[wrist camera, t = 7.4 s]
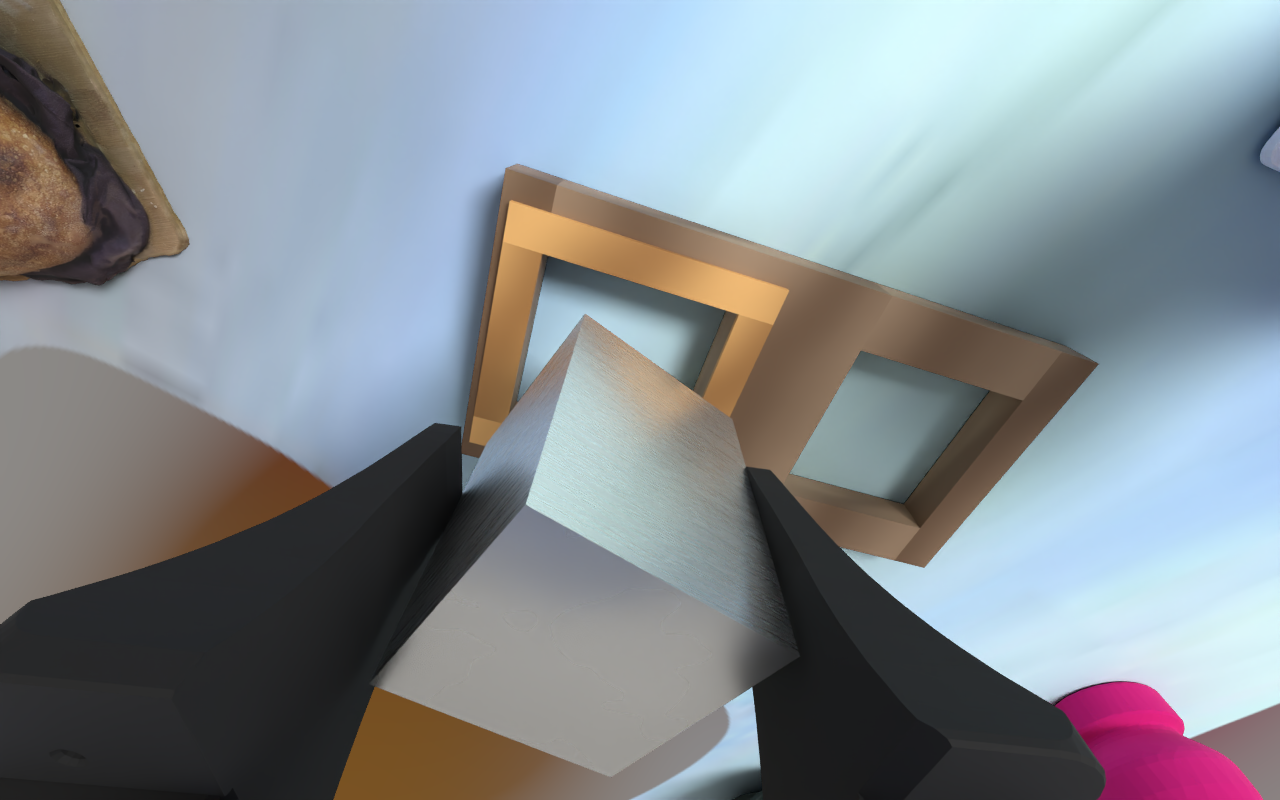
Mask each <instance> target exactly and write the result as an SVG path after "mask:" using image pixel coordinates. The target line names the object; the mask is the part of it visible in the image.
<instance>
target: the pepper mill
mask: <svg viewBox="0 0 1280 800" xmlns="http://www.w3.org/2000/svg"><path fill="white" fill-rule="evenodd" d="M1055 707H1057V708H1059V709H1060V710H1062V711H1063V712H1064V713H1065V714H1066V715H1067V717H1068V718H1069V720H1070V721H1071V723H1072V724H1073V725H1074V727H1075V728H1076V730H1077V731H1078V733H1079V734H1080V735H1081V737H1082V738H1083V740H1084V741H1085V743H1086V744H1087V745H1088V747H1089V748H1090V750H1091V751H1092V753H1093V754H1094V755H1095V757H1096V758H1097V760H1098V761H1099V763H1100V764H1101V765H1102V767H1103V768H1104V770H1105V775H1106V784H1105V787H1104V789H1103V791H1102V794H1101V796H1100V797H1099V798H1098V799H1097V800H1263V799H1262V797H1261V796H1260V794H1259V792H1258V791H1257V790H1256V789H1255V787H1254V786H1253V785H1252V784H1251V783H1250V781H1249V780H1248V779H1247V778H1246V776H1245V775H1244V774H1243V773H1242V771H1241V770H1240V769H1239V768H1238V767H1237V766H1236V765H1235V764H1234V763H1233V762H1232V761H1231V760H1230V759H1228V758H1227V757H1225V756H1224V755H1222V754H1221V753H1219V752H1218V751H1216V750H1214V749H1212V748H1209V747H1207V746H1205V745H1203V744H1201V743H1198V742H1196V741H1194V740H1191V739H1189V738H1187V737H1184V736H1183V733H1184V723H1183V720H1182V719H1181V718H1180V717H1179V716H1178V715H1177V714H1176V712H1175V711H1174V710H1173V709H1172V708H1171V707H1170V706H1169V704H1168V703H1167V702H1166V701H1165V700H1164V699H1163V698H1162V697H1161V695H1160V694H1159V693H1158V692H1157V691H1156V690H1154V689H1152V688H1151V687H1149V686H1147V685H1143V684H1140V683H1134V682H1113V683H1107V684H1101V685H1096V686H1092V687H1089V688H1086V689H1083V690H1080V691H1078V692H1076V693H1073V694H1071V695H1069V696H1067V697H1066V698H1064V699H1063V700H1061V701H1060V702H1058V703H1057V704H1056V705H1055Z"/></svg>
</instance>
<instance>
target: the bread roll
mask: <svg viewBox="0 0 1280 800" xmlns="http://www.w3.org/2000/svg"><path fill="white" fill-rule="evenodd" d="M188 245H190V244H189V238H188V236H187V233H186V231H185V228H184V227H183V225H182V223H181V221H180V220H179V219H178V217H177V215H176V214H175V213H174V211H173V209H172V207H171V205H170V203H169V202H168V200H167V198H166V196H165V194H164V192H163V189H162V188H161V186H160V184H159V183H158V181H157V179H156V178H155V175H154V173H153V171H152V170H151V168H150V166H149V164H148V163H147V161H146V159H145V157H144V155H143V153H142V152H141V149H140V146H139V144H138V142H137V141H136V139H135V138H134V136H133V134H132V133H131V131H130V129H129V127H128V125H127V124H126V122H125V121H124V119H123V117H122V115H121V112H120V111H119V109H118V106H117V104H116V103H115V101H114V99H113V97H112V96H111V94H110V92H109V90H108V88H107V87H106V85H105V83H104V81H103V79H102V77H101V75H100V74H99V72H98V70H97V68H96V66H95V64H94V62H93V61H92V59H91V57H90V55H89V53H88V51H87V49H86V48H85V46H84V44H83V42H82V40H81V38H80V37H79V35H78V33H77V32H76V30H75V28H74V26H73V24H72V22H71V21H70V19H69V17H68V15H67V13H66V11H65V9H64V7H63V5H62V4H61V2H60V0H0V280H9V281H20V280H28V279H29V278H32V279H36V280H57V281H62V282H66V283H70V284H77V283H85V282H89V283H92V284H95V285H102V284H104V283H105V282H106V281H109V280H111V279H112V278H113V277H114V276H115V275H116V274H118V273H121V272H125V271H126V270H128V269H129V268H130V267H131V266H133V265H136V263H138V262H140V261H144V260H147V259H148V258H150V257H158V256H163V255H167V256H171V255H176V254H179V253H181V252H182V251H183V250H184V249H186V248H187V247H188Z"/></svg>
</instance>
